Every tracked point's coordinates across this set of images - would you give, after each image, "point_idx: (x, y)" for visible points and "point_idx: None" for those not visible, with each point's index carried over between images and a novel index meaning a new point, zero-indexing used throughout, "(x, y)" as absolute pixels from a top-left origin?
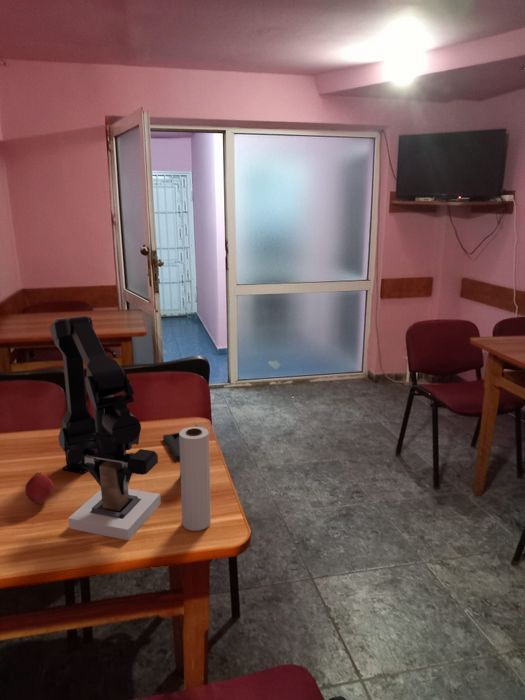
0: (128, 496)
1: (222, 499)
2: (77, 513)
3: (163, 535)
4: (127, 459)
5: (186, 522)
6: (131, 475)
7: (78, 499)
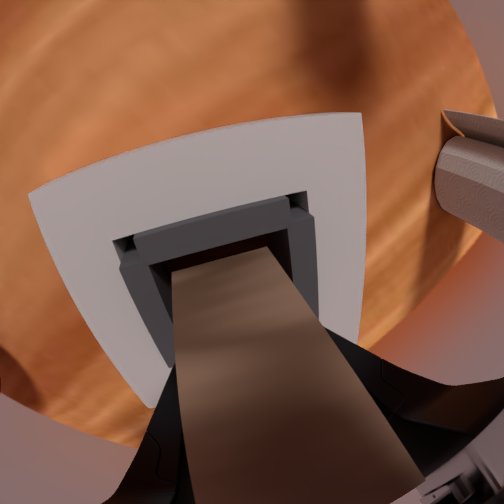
0: (275, 259)
1: (458, 43)
2: (146, 389)
3: (407, 258)
4: (472, 500)
5: (462, 219)
6: (403, 369)
7: (12, 272)
